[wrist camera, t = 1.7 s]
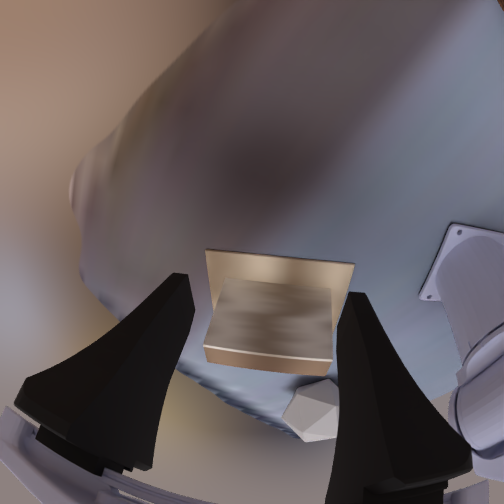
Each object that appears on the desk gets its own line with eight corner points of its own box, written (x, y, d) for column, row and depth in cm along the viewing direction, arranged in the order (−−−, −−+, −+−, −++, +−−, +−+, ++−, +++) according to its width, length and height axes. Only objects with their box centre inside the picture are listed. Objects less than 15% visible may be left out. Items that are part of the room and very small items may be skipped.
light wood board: (354, 263, 22) (354, 265, 21) (320, 365, 31) (320, 367, 31) (205, 249, 23) (205, 250, 23) (221, 354, 33) (220, 355, 33)
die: (307, 398, 39) (343, 442, 32) (262, 411, 35) (299, 463, 27) (331, 361, 37) (375, 407, 29) (285, 372, 32) (332, 429, 25)
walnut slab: (330, 288, 23) (332, 359, 18) (325, 308, 25) (325, 376, 19) (225, 277, 24) (203, 344, 19) (227, 297, 26) (207, 362, 20)
